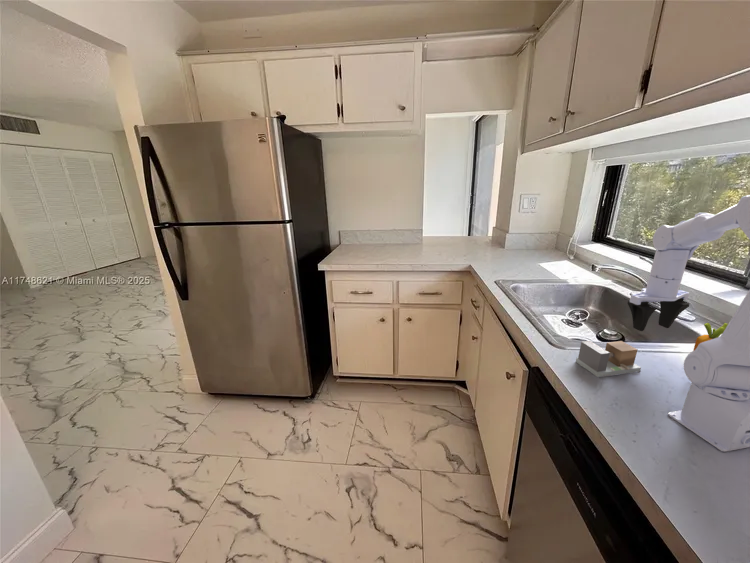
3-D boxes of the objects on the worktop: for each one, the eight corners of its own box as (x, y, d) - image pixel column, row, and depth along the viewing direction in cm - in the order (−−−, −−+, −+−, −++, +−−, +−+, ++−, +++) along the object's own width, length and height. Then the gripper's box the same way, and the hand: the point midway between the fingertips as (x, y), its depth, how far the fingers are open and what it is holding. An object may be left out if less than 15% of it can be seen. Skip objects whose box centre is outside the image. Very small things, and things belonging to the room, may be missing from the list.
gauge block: (641, 369, 76) (645, 353, 75) (621, 372, 75) (625, 356, 74) (617, 355, 82) (621, 340, 81) (598, 358, 81) (602, 343, 80)
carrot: (683, 380, 74) (702, 323, 69) (684, 371, 77) (703, 316, 72) (713, 389, 70) (736, 330, 66) (713, 379, 74) (734, 322, 69)
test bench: (640, 371, 77) (646, 349, 75) (597, 377, 76) (603, 355, 74) (615, 356, 84) (620, 336, 82) (575, 361, 82) (579, 340, 80)
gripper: (673, 269, 79) (659, 318, 83) (623, 273, 77) (612, 323, 81) (705, 278, 72) (688, 330, 76) (652, 282, 70) (638, 336, 74)
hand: (650, 327), depth 78 cm, fingers open, 7 cm apart
